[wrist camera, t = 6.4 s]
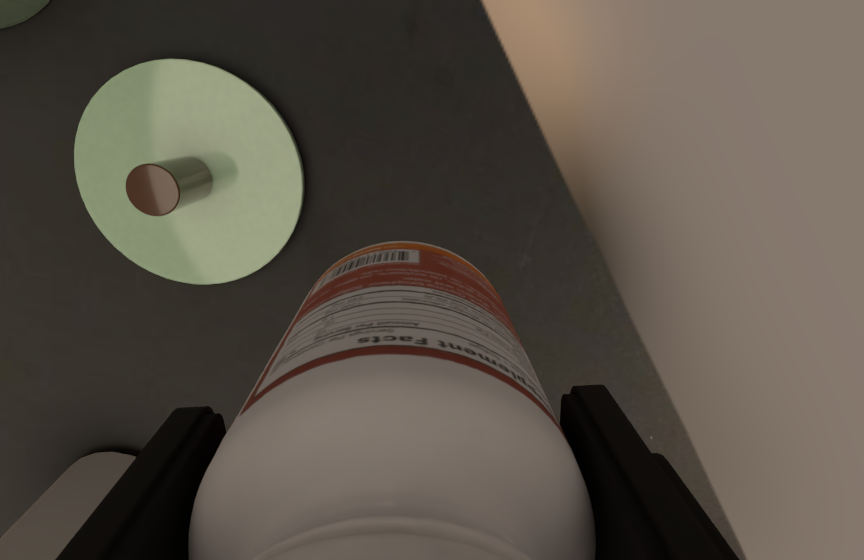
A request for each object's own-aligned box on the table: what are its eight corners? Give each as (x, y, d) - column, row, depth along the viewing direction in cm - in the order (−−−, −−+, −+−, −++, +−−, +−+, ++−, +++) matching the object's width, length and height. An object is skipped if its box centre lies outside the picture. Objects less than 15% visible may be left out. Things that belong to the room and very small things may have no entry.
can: (161, 540, 39) (55, 720, 27) (59, 510, 37) (-96, 684, 26) (189, 464, 37) (88, 623, 25) (82, 429, 35) (-75, 579, 24)
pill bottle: (432, 455, 17) (460, 1044, 6) (263, 362, 15) (-63, 905, 5) (549, 306, 15) (853, 757, 5) (371, 191, 14) (237, 447, 3)
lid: (61, 63, 28) (-22, 51, 23) (294, 57, 29) (267, 44, 23) (112, 282, 32) (52, 316, 27) (316, 275, 33) (297, 307, 27)
